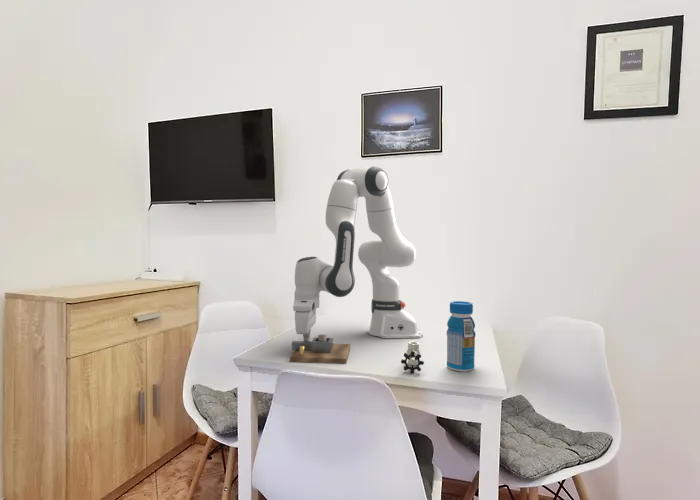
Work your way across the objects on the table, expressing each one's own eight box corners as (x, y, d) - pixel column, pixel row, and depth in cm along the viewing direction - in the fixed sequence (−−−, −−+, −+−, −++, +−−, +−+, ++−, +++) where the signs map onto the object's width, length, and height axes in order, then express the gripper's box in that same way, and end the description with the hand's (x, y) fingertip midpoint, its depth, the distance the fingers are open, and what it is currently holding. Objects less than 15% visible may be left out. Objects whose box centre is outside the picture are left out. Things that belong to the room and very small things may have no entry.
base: (350, 348, 141) (350, 330, 141) (346, 363, 123) (346, 342, 123) (301, 346, 142) (301, 329, 142) (289, 361, 124) (289, 341, 124)
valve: (403, 361, 127) (400, 373, 115) (403, 340, 127) (401, 350, 115) (423, 362, 125) (423, 374, 114) (424, 341, 125) (424, 351, 114)
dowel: (304, 359, 127) (304, 345, 127) (303, 361, 125) (303, 347, 125) (300, 359, 127) (300, 345, 127) (299, 360, 125) (299, 346, 125)
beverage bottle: (444, 370, 117) (445, 303, 117) (447, 362, 125) (448, 299, 125) (474, 374, 114) (475, 305, 114) (475, 365, 122) (476, 301, 122)
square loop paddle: (332, 347, 136) (332, 337, 136) (330, 353, 129) (330, 342, 129) (294, 346, 137) (294, 336, 137) (290, 351, 130) (290, 341, 130)
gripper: (303, 298, 150) (303, 334, 150) (292, 306, 129) (291, 348, 130) (320, 298, 149) (319, 334, 150) (310, 307, 129) (310, 349, 129)
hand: (306, 341), depth 139 cm, fingers closed
